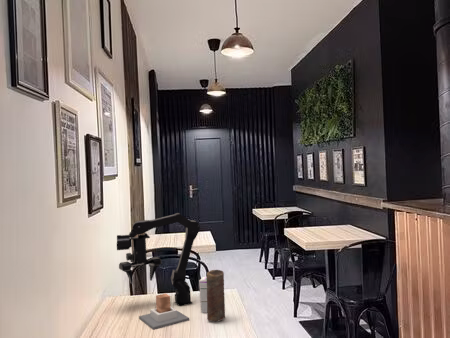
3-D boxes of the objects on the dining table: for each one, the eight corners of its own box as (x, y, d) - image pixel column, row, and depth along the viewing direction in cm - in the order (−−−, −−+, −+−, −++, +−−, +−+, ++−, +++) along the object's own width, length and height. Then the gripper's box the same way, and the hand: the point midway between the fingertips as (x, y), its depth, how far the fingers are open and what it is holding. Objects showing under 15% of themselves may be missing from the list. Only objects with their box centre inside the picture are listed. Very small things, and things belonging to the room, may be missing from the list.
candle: (228, 317, 172) (225, 269, 172) (222, 324, 165) (220, 274, 165) (211, 316, 175) (209, 269, 175) (204, 322, 168) (202, 273, 168)
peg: (166, 314, 177) (165, 293, 177) (171, 317, 173) (170, 295, 173) (156, 316, 174) (155, 295, 174) (161, 319, 171) (160, 298, 171)
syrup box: (213, 313, 178) (212, 279, 178) (200, 313, 179) (198, 279, 180) (216, 308, 184) (215, 276, 184) (203, 308, 185) (202, 276, 185)
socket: (173, 310, 185) (172, 301, 185) (189, 320, 171) (188, 310, 171) (139, 318, 176) (138, 309, 176) (153, 329, 163) (152, 319, 163)
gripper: (152, 243, 202) (153, 275, 201) (114, 248, 192) (116, 282, 192) (161, 246, 192) (162, 279, 192) (122, 252, 182) (123, 287, 182)
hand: (141, 282), depth 190 cm, fingers open, 9 cm apart
